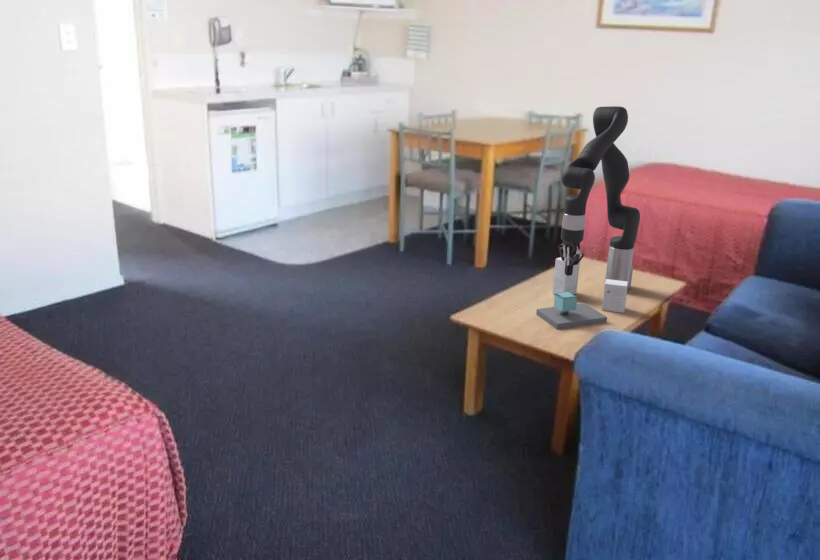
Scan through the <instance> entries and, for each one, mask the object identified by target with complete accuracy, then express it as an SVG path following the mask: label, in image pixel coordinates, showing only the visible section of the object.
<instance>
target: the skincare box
mask: <svg viewBox="0 0 820 560" xmlns="http://www.w3.org/2000/svg"><path fill="white" fill-rule="evenodd" d="M554 262H555V264H554V274H553V281H552V283H553V284H552V292H551V293H552V294H553V295H555V293H559V292H567V291H569V292H571V293H572V294H574V295H576V294H577V291H578V284H579V283H578V281H579V273H580V263H581V261H580V262H579V263H578V265H574V266H573V273H572V275H571V276H567V275H565V274H564V273H565V264H564V261H562V259H561V256H560V257H556V258H555V261H554Z"/></svg>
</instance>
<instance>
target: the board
mask: <svg viewBox="0 0 820 560" xmlns="http://www.w3.org/2000/svg"><path fill="white" fill-rule="evenodd" d="M535 315H537V316H538V317H539V318H541V319H542V320H544V321H545V322H546V323H548V325H551V326H552V327H553V328H555V329H556V330H562V329H568V328H569V329H571V328H576V327H583V326H589V325H598V324H605V322H606V323H607V320H608V316H606V315H605V314H603V313H601V312H599V311H598V310H596V309H595V308H593V307H592V306H590V305H588V304H587V303H585V302H583V303H577V306H576V310H571V311H569V314H568V315H562V314H560V310H559V309H557V308H556V307H554V306H551V307H550V306H549V307H544V308H536V312H535Z"/></svg>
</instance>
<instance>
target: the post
mask: <svg viewBox="0 0 820 560" xmlns="http://www.w3.org/2000/svg"><path fill="white" fill-rule="evenodd" d="M560 314H562V315H568V314H569V311H564V312H562V311H560Z"/></svg>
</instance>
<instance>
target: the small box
mask: <svg viewBox="0 0 820 560" xmlns="http://www.w3.org/2000/svg"><path fill="white" fill-rule="evenodd" d="M604 285H605V286H604V289H603V297H602V307H601V310H602V311H607V312H613V313H614V312H616V313H622V314H624V313H625V309H626V303H627V302H626V301H627V296H628V290H627V286H628V281H619V280H610V279H606V281H605V280H604Z"/></svg>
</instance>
